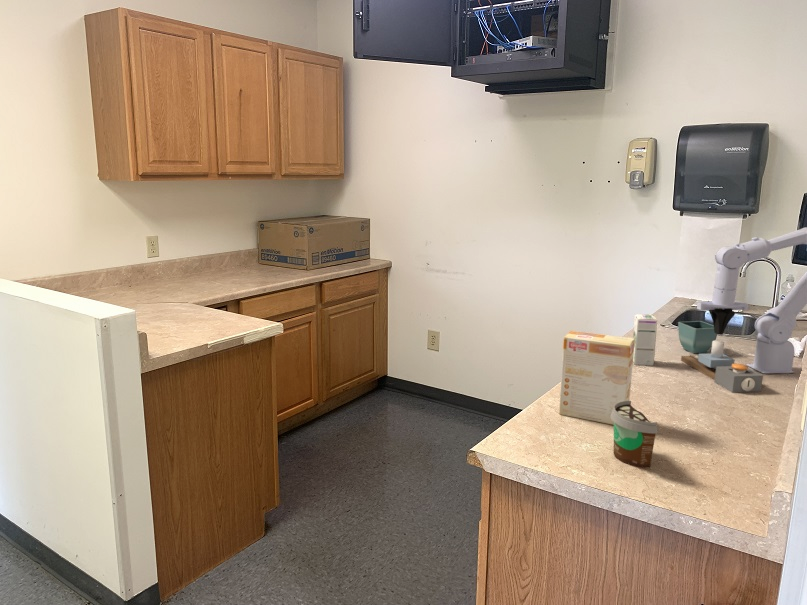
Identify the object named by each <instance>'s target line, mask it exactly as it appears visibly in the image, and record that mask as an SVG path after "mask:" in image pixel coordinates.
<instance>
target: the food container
mask: <svg viewBox="0 0 807 605" xmlns="http://www.w3.org/2000/svg"><path fill="white" fill-rule="evenodd" d="M611 419H612V421H613V422H614V425H613V456H614V457H615V458H616V459H617V460H618V461H619V462H622V463H623V464H626V465H629V466H632V467H637V468H645V469H646V468H647V469H649V468H651V463H652V457H653V451H654V446H655V439H656V435H657V434H658V432H659V431H658V429H659V428H658V422H656V421H654V422H653V421H650V419H648V417H646V416H645V414H644V413H643V412H641V411H640V410H637V409H636V408H635V407H634V406H632V400H629V401H622V402H619V403H617V404H616V405H615V406H614V408H613V410H612V413H611Z"/></svg>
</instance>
